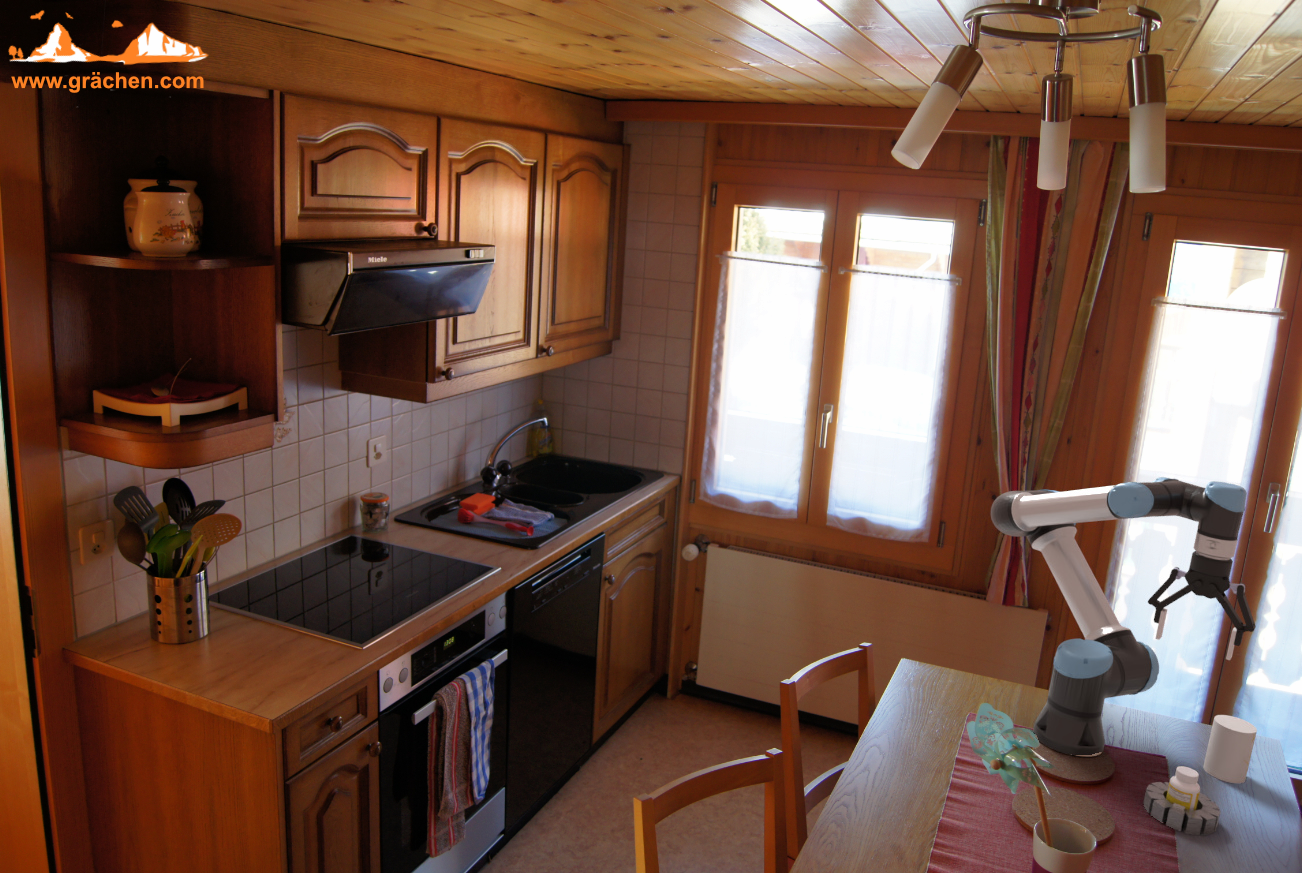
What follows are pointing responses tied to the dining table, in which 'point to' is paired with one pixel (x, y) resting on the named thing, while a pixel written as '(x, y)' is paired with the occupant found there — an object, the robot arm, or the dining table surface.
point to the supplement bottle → (1184, 788)
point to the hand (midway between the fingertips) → (1192, 647)
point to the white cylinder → (1229, 748)
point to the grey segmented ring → (1181, 811)
